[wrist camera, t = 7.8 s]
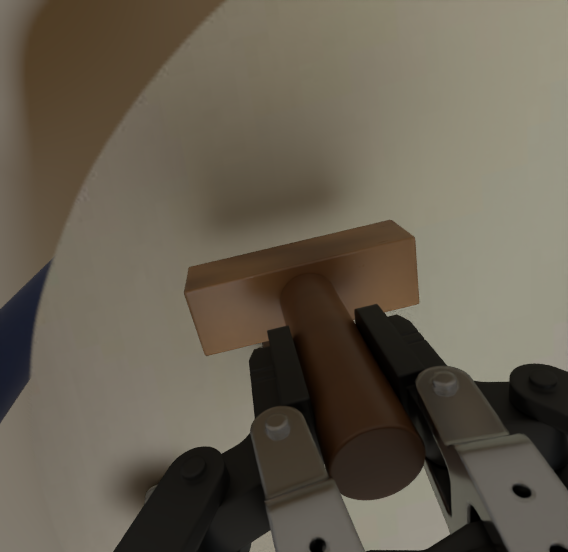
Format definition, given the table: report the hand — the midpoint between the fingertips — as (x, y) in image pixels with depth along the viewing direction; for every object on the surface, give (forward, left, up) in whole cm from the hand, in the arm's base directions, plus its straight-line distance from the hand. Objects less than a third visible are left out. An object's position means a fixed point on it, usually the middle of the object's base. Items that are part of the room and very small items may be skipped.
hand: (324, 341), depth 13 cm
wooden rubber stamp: (0, 0, -6) cm, 6 cm away
